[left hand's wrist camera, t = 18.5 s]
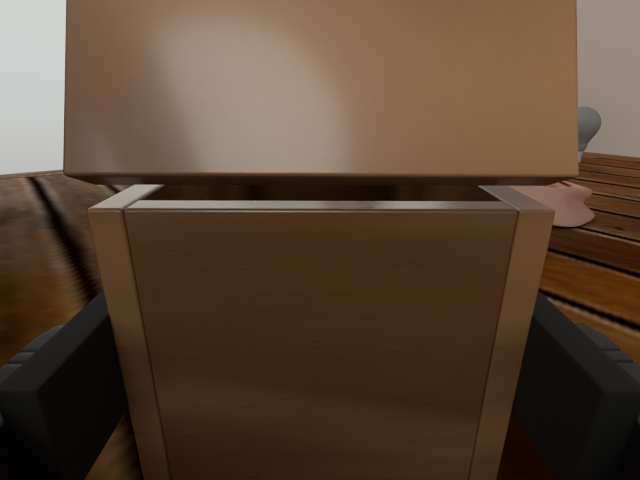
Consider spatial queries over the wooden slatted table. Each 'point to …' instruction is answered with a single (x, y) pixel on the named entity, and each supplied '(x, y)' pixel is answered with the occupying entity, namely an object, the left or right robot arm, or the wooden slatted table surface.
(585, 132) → the light bulb
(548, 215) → the chest
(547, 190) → the anatomical model
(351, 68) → the lid
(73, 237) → the wooden slatted table surface
